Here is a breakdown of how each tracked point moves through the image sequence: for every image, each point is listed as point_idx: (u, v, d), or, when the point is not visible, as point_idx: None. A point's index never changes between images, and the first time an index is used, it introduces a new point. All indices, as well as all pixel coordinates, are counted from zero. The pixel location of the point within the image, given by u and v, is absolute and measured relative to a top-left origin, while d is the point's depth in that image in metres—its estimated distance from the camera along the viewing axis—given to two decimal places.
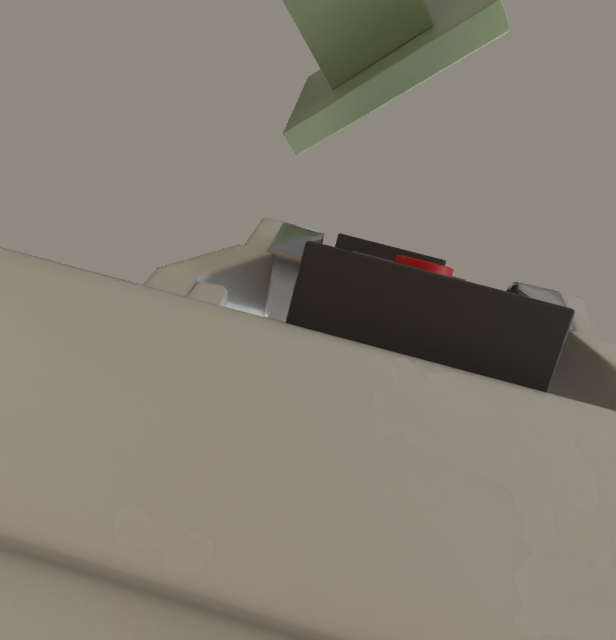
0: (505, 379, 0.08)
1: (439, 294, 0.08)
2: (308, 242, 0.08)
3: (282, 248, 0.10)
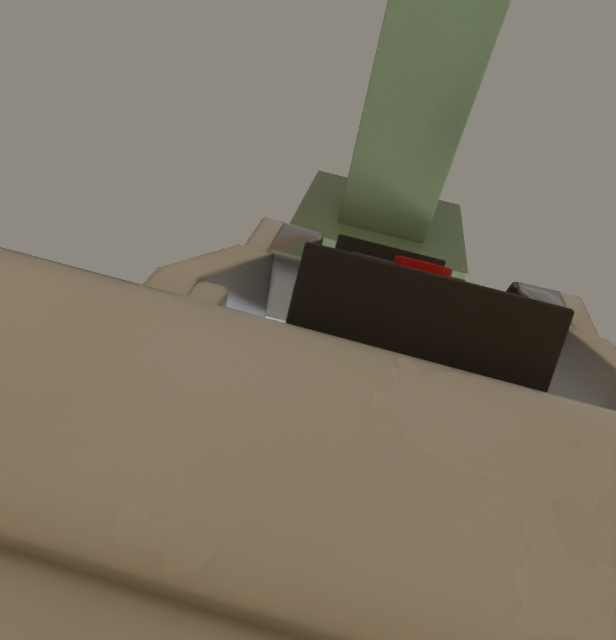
0: (505, 379, 0.08)
1: (438, 295, 0.08)
2: (308, 243, 0.08)
3: (282, 248, 0.10)
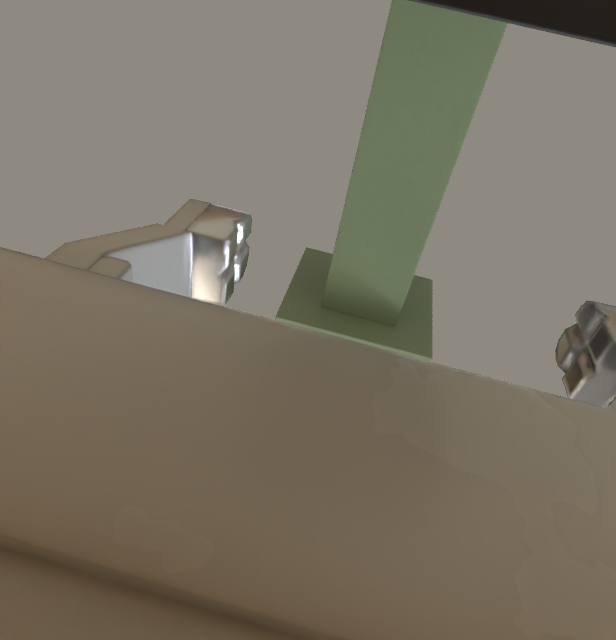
0: None
1: None
2: None
3: (202, 228, 0.10)
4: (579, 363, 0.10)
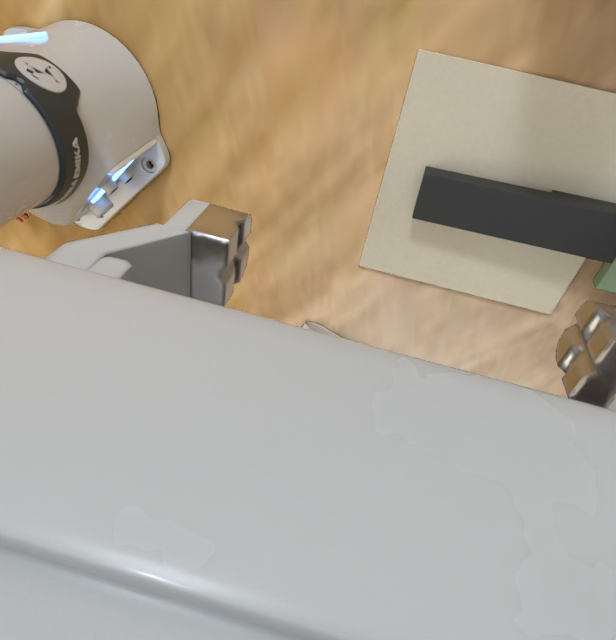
0: (422, 178, 0.45)
1: None
2: (414, 209, 0.48)
3: (202, 228, 0.10)
4: (579, 363, 0.10)
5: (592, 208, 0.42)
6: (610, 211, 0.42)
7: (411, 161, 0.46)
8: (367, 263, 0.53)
